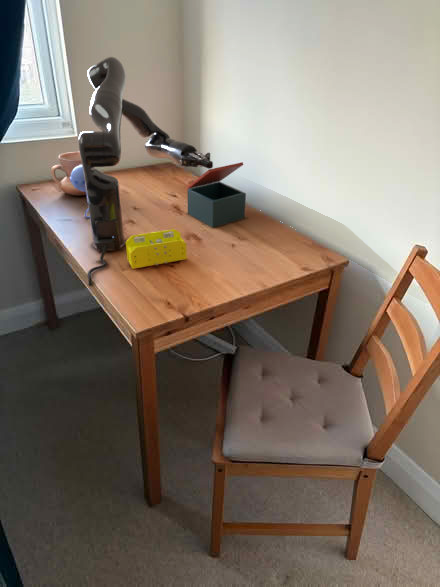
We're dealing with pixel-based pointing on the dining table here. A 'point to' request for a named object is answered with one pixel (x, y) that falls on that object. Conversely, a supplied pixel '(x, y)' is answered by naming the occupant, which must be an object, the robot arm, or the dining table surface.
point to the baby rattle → (79, 181)
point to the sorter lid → (214, 175)
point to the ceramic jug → (68, 172)
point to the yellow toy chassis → (155, 248)
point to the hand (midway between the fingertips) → (211, 165)
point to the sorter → (216, 203)
